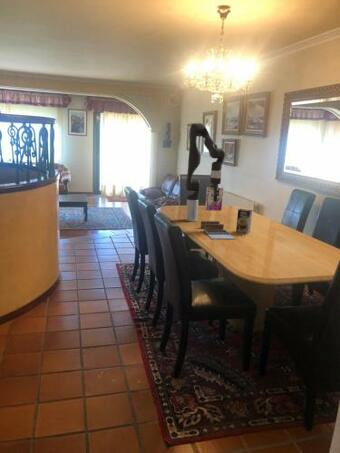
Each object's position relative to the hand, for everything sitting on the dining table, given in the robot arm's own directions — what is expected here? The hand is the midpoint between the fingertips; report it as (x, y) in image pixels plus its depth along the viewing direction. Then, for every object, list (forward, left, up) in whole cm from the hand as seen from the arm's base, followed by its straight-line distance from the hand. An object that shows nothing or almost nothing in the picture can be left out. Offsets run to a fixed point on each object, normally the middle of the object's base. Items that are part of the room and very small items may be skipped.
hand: (213, 200), depth 265 cm
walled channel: (0, 0, -21) cm, 21 cm away
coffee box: (+6, +22, -22) cm, 31 cm away
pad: (+22, 0, -21) cm, 31 cm away
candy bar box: (0, 0, -7) cm, 7 cm away
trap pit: (+11, 0, -21) cm, 24 cm away
